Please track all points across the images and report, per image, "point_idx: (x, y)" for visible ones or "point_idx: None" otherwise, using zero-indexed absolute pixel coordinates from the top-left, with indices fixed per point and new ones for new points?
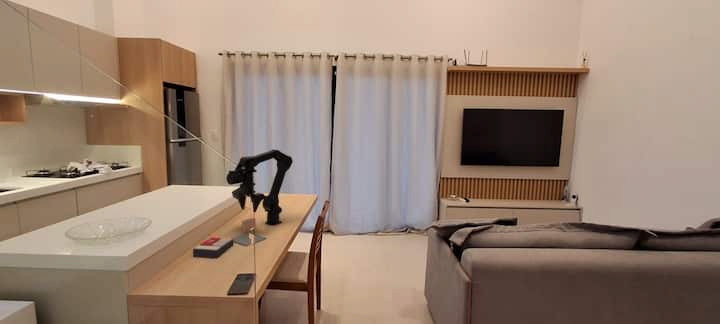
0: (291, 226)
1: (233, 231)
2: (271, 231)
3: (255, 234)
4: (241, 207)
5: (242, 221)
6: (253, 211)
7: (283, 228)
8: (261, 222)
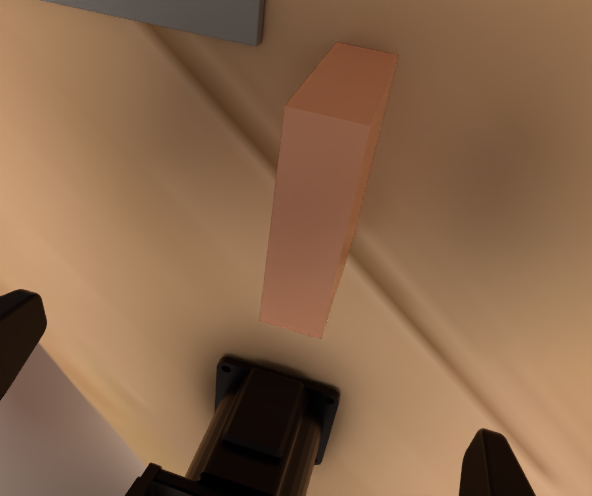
0: (78, 361)
1: (569, 6)
2: (99, 209)
3: (116, 15)
4: (508, 484)
5: (359, 119)
6: (12, 304)
7: (85, 308)
8: (397, 402)
